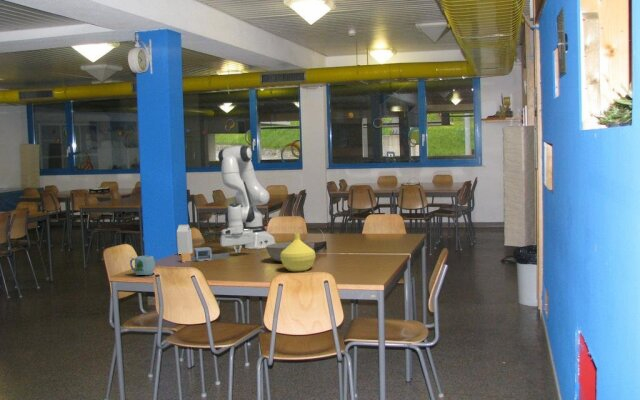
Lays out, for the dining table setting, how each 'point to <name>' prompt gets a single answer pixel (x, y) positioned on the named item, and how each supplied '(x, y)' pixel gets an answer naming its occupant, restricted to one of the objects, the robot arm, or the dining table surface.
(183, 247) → the milk carton
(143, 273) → the mug
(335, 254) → the dining table surface
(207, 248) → the pale blue storage bin
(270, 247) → the bowl
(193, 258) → the rod
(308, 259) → the vase
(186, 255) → the block
